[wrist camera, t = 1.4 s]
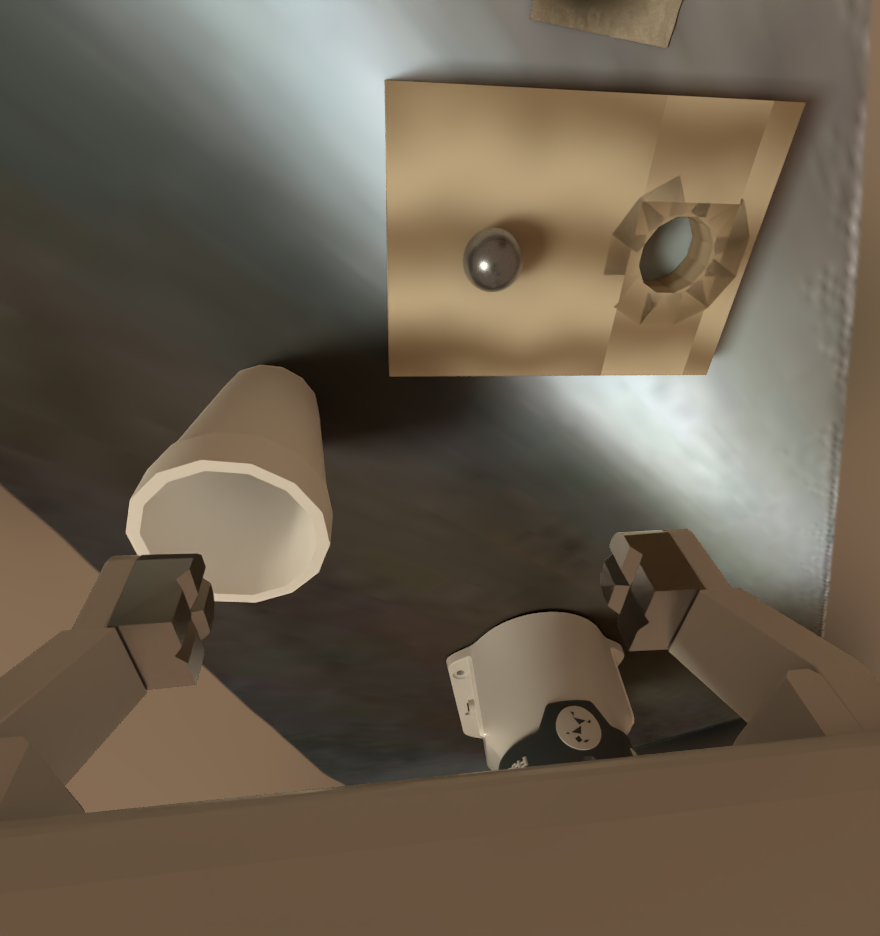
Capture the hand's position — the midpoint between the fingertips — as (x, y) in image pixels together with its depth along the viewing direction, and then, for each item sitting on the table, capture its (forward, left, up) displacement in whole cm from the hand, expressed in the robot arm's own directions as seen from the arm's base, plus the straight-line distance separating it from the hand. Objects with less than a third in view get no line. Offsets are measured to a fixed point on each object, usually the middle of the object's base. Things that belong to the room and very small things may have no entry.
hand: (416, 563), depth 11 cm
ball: (0, -5, -21) cm, 22 cm away
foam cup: (-11, +8, -26) cm, 29 cm away
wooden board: (0, -10, -26) cm, 28 cm away
